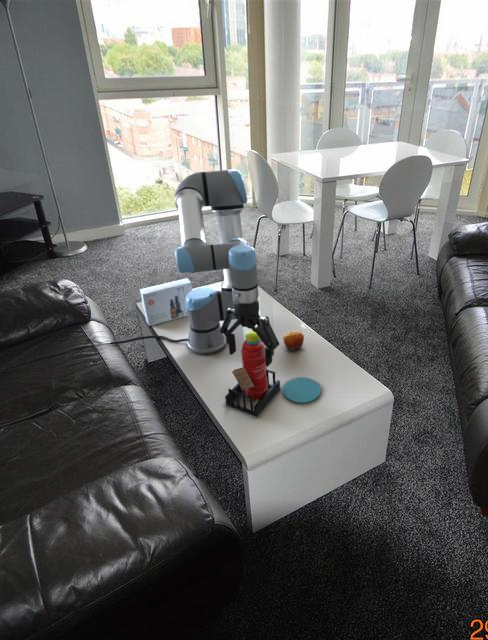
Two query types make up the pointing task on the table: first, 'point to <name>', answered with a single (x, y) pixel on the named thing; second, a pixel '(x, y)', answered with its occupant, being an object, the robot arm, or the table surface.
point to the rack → (260, 404)
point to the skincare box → (165, 301)
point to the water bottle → (252, 367)
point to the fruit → (293, 340)
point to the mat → (301, 390)
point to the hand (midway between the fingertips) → (250, 358)
